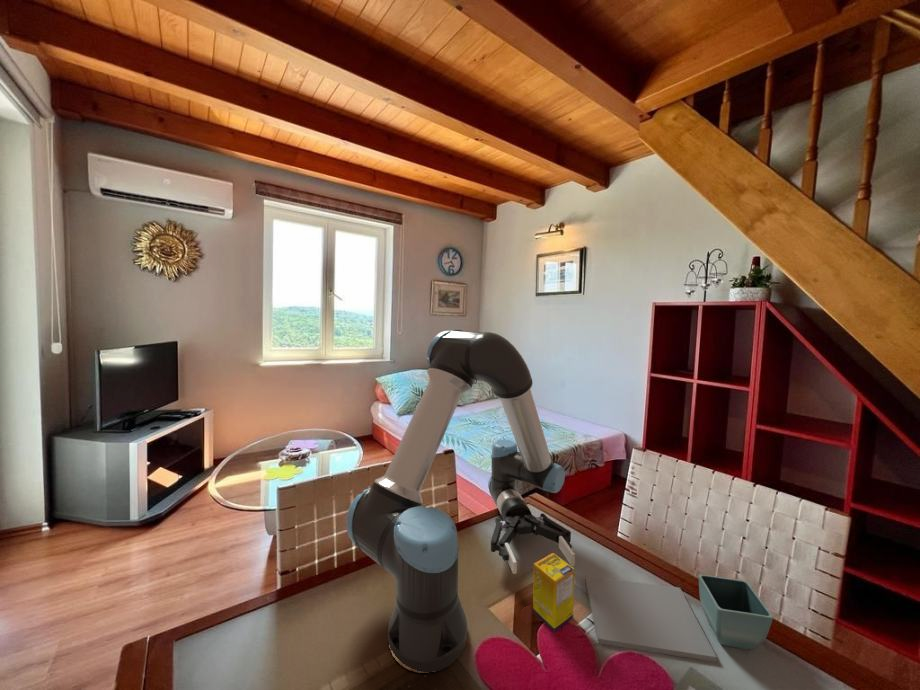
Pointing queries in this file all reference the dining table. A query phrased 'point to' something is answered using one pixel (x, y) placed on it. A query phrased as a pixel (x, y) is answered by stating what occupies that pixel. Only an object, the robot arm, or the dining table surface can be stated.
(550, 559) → the supplement box
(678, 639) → the board
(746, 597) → the flower pot
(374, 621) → the dining table surface
